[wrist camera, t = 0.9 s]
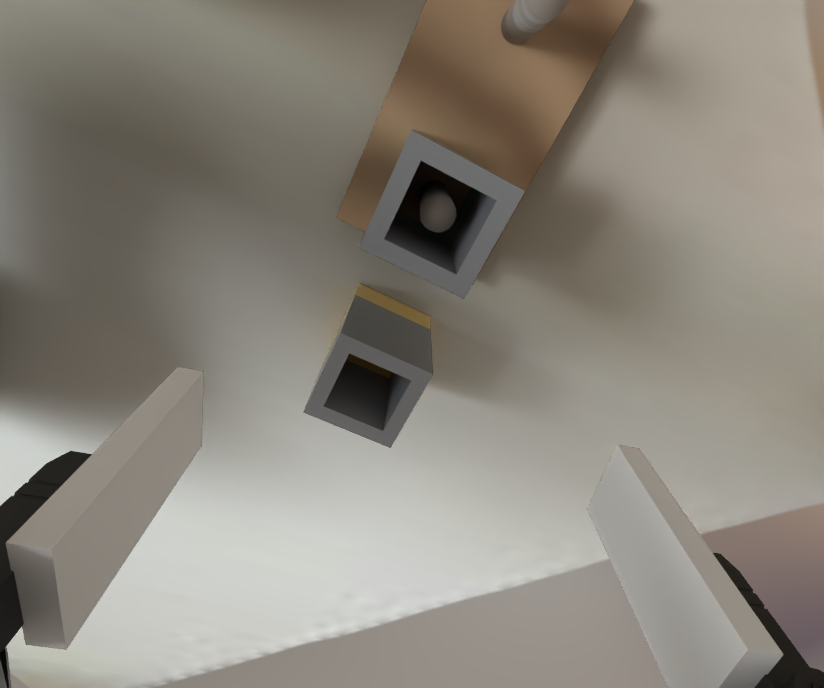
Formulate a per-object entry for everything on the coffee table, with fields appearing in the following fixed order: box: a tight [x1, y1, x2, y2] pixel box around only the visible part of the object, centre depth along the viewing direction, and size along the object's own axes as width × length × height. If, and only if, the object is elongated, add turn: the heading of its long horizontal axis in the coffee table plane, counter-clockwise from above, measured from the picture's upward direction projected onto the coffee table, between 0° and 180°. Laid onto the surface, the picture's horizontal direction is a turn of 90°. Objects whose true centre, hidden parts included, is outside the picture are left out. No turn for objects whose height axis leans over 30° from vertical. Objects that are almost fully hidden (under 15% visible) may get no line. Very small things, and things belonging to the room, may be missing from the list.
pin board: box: [336, 0, 634, 285], centre depth 26 cm, size 18×10×8 cm, turn 154°
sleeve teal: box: [359, 129, 525, 299], centre depth 26 cm, size 6×6×9 cm
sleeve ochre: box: [304, 283, 433, 448], centre depth 31 cm, size 6×6×9 cm
